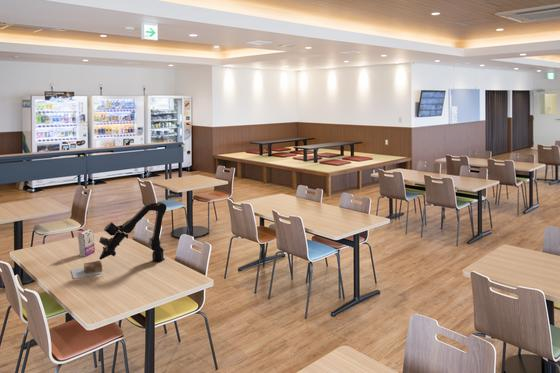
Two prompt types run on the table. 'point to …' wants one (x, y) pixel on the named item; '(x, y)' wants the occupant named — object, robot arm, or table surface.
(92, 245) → the candy bar box
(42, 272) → the table surface
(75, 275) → the slate board
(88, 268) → the walnut block
